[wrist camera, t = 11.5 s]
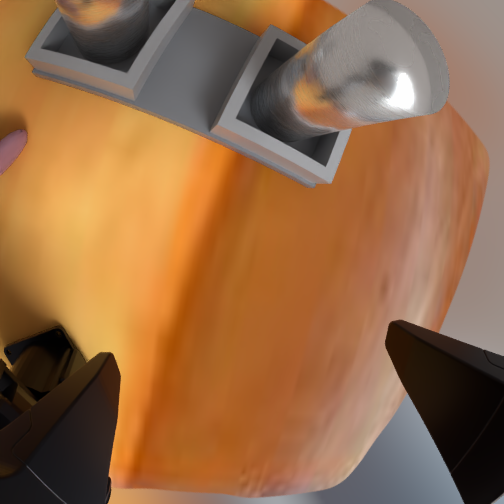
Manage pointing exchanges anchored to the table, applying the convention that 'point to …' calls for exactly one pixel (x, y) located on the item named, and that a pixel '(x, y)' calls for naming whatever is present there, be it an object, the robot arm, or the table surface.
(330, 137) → the grey socket holder
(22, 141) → the video game controller
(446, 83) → the cylinder
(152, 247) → the table surface
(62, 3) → the billet
